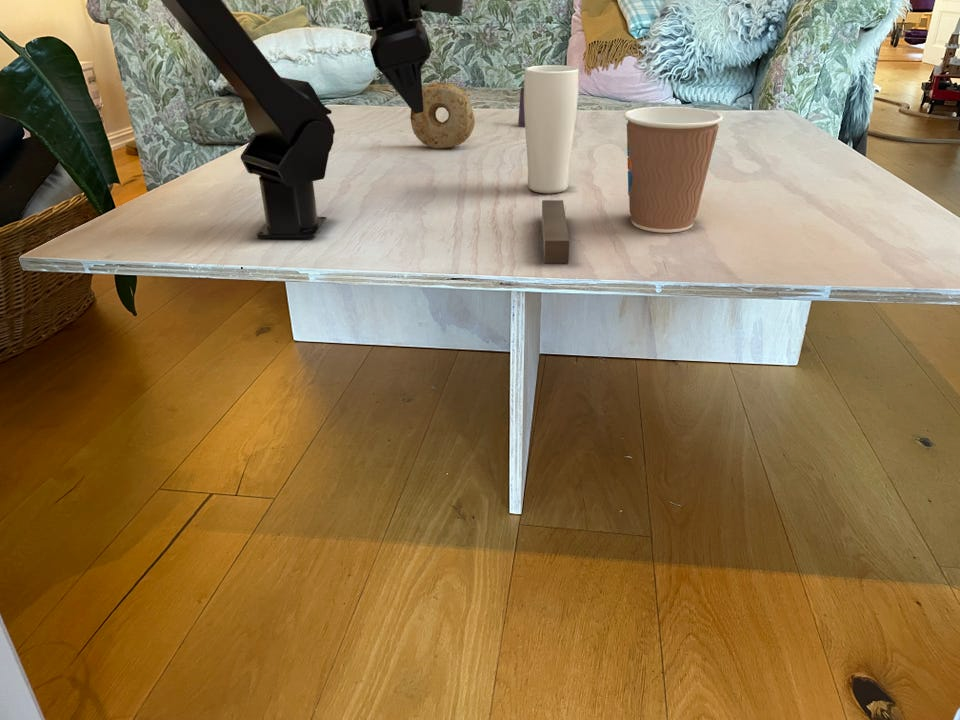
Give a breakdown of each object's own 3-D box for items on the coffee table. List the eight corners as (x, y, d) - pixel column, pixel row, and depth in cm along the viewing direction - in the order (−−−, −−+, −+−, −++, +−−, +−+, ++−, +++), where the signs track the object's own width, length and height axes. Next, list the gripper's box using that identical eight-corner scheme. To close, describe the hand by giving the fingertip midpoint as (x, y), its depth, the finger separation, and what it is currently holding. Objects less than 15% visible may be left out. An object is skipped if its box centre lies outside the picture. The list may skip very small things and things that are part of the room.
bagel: (408, 149, 120) (404, 84, 115) (415, 144, 123) (412, 80, 118) (470, 151, 118) (469, 85, 113) (476, 146, 121) (475, 82, 116)
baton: (568, 263, 74) (569, 240, 73) (544, 263, 74) (545, 240, 73) (562, 220, 86) (563, 200, 85) (541, 220, 86) (542, 200, 85)
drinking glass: (561, 199, 94) (566, 73, 86) (513, 192, 96) (514, 70, 89) (581, 186, 99) (587, 66, 92) (535, 180, 102) (537, 63, 95)
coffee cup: (643, 205, 91) (652, 103, 85) (723, 220, 85) (739, 112, 79) (599, 226, 84) (606, 116, 78) (683, 244, 78) (697, 127, 72)
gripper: (459, -45, 73) (491, 108, 82) (441, -74, 87) (471, 59, 97) (350, -15, 73) (395, 134, 83) (351, -48, 87) (389, 81, 97)
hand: (416, 99), depth 90 cm, fingers open, 9 cm apart
